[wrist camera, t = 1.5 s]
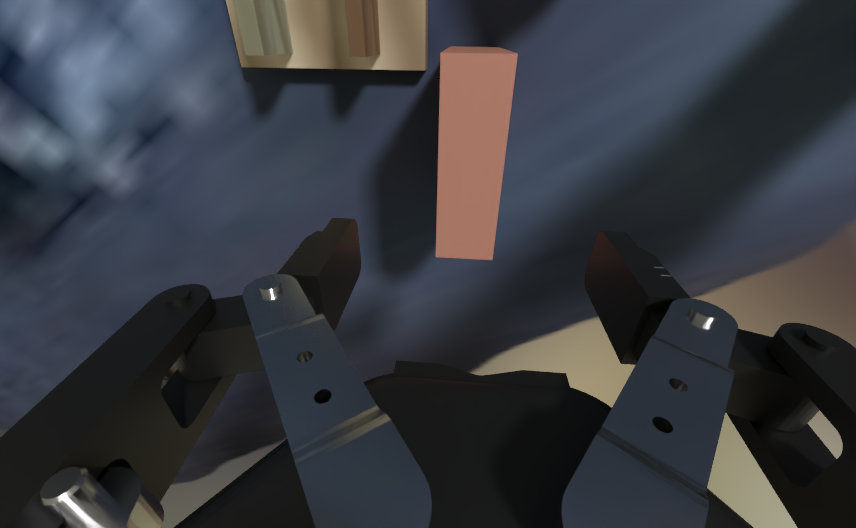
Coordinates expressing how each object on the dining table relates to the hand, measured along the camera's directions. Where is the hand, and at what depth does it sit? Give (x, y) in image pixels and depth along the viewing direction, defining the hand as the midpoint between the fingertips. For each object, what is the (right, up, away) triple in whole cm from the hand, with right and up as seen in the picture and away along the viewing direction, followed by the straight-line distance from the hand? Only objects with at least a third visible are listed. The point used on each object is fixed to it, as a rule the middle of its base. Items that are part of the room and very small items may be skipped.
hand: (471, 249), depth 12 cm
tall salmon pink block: (+2, +11, +17) cm, 21 cm away
